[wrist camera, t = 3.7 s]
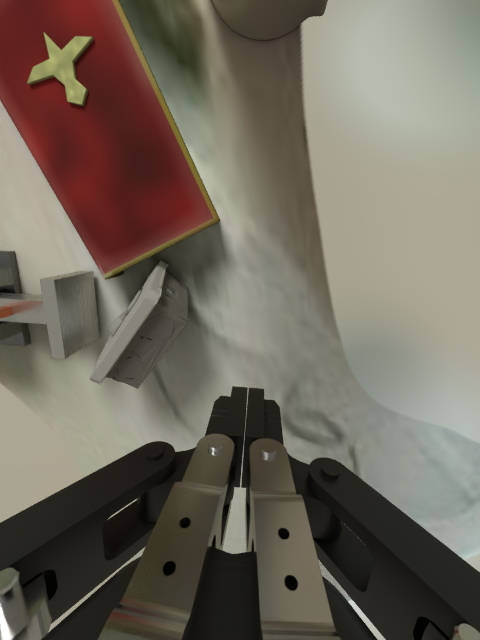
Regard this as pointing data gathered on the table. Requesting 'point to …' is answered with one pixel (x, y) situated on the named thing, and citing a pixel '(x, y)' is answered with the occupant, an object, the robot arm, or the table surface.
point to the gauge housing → (5, 279)
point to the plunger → (58, 311)
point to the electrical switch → (144, 329)
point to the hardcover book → (99, 128)
